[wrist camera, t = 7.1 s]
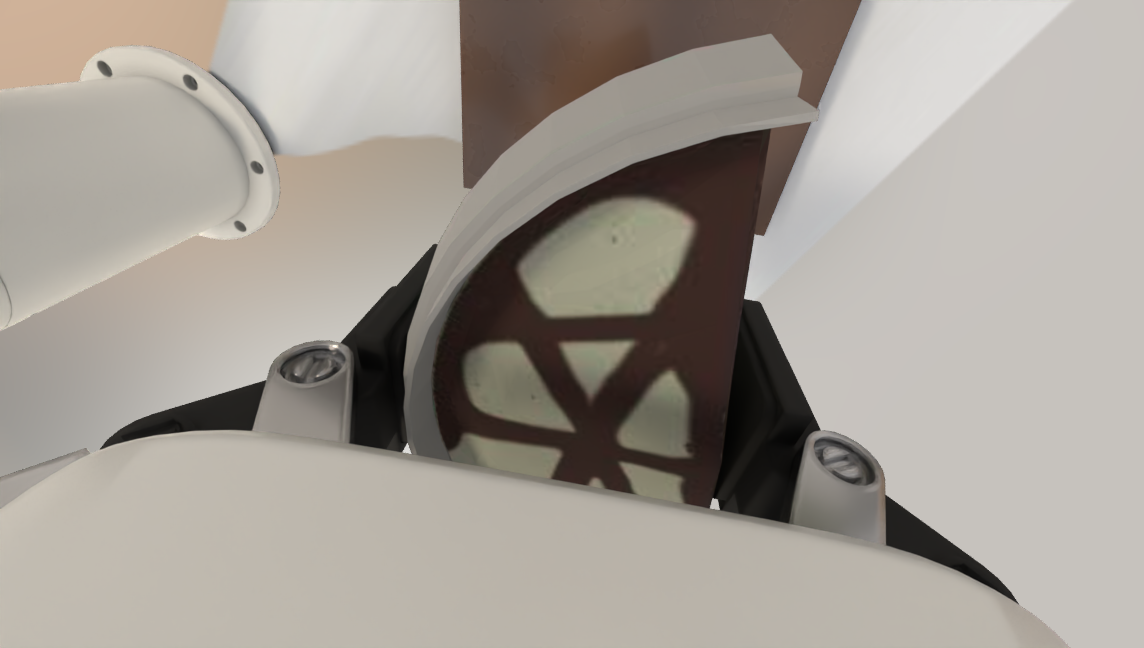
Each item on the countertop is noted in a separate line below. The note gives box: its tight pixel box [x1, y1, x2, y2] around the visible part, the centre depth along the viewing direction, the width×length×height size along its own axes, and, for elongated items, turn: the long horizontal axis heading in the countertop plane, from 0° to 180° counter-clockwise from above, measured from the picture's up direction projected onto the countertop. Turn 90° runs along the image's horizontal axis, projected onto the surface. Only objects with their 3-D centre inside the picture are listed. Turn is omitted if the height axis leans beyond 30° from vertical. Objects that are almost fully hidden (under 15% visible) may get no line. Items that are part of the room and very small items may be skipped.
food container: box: [403, 34, 819, 508], centre depth 12 cm, size 12×6×10 cm, turn 5°
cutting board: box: [459, 0, 861, 236], centre depth 25 cm, size 20×13×2 cm, turn 83°
